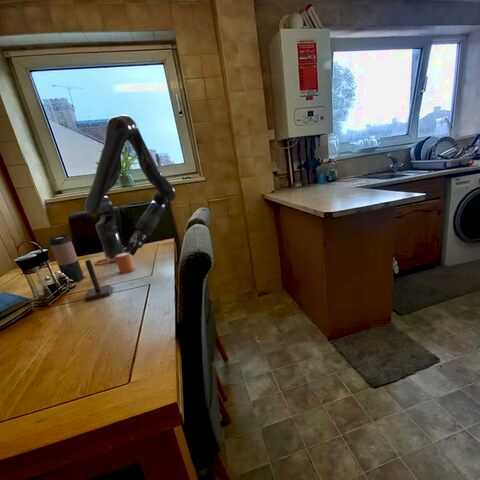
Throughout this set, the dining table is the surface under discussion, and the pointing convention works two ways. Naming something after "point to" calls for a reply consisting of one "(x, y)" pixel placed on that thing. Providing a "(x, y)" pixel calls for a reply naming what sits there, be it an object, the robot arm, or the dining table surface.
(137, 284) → the dining table surface
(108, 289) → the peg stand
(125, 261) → the measuring cup
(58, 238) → the travel mug
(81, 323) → the dining table surface
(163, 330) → the dining table surface
